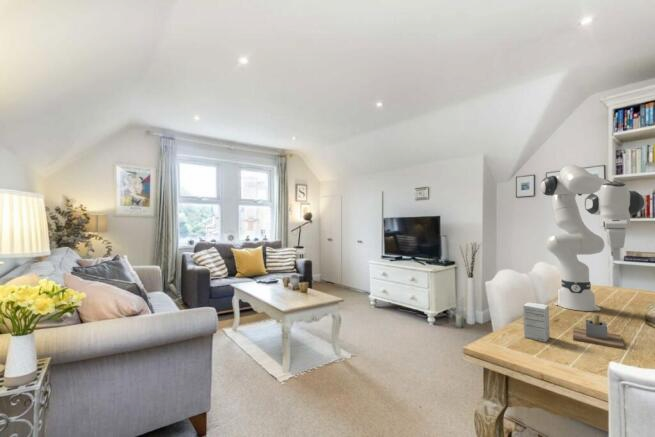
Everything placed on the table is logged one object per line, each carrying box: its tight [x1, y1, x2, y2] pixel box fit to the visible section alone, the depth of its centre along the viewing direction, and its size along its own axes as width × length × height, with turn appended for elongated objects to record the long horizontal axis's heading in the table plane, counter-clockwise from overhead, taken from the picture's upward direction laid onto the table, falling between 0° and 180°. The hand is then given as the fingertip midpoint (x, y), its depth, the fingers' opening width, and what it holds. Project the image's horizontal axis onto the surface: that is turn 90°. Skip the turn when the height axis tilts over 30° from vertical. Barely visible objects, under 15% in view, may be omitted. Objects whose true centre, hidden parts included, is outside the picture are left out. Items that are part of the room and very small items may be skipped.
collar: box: [585, 319, 608, 340], centre depth 116 cm, size 6×6×5 cm
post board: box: [572, 314, 625, 350], centre depth 116 cm, size 14×14×9 cm
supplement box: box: [522, 301, 551, 343], centre depth 119 cm, size 7×7×13 cm
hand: (615, 257), depth 121 cm, fingers open, 8 cm apart
